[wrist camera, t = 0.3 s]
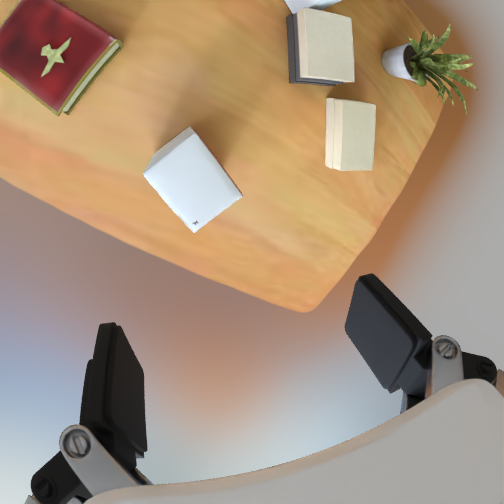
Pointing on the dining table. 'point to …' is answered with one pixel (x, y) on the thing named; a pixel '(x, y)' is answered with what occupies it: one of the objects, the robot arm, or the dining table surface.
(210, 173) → the small box
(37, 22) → the hardcover book
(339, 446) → the robot arm
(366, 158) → the cream book stack
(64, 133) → the dining table surface
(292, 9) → the skincare box
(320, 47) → the cream book
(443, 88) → the house plant
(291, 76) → the grey book stack
